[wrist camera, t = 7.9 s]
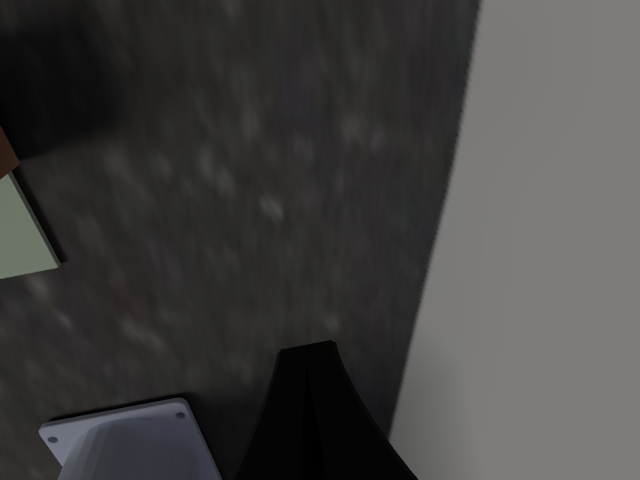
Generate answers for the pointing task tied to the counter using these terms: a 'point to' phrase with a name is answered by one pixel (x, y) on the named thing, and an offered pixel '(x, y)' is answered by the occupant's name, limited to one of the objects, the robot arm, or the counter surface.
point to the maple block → (6, 156)
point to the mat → (21, 234)
